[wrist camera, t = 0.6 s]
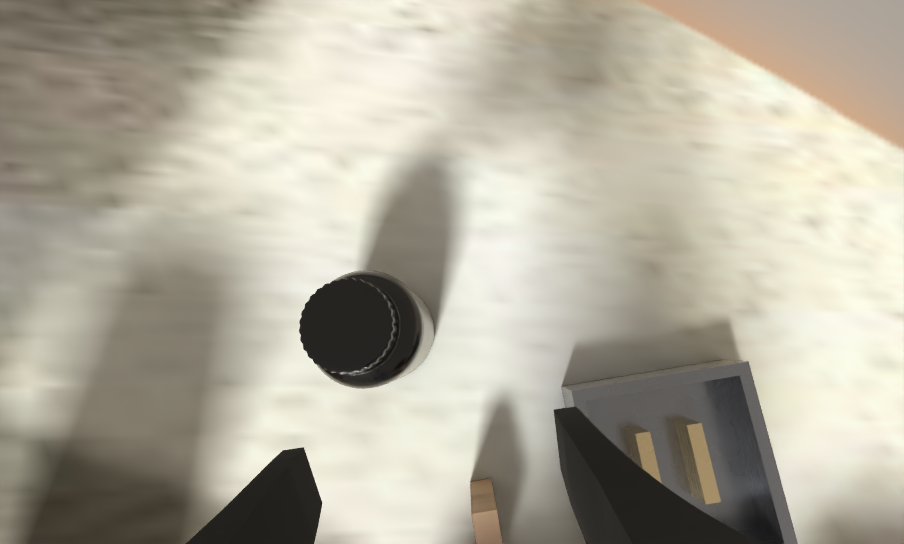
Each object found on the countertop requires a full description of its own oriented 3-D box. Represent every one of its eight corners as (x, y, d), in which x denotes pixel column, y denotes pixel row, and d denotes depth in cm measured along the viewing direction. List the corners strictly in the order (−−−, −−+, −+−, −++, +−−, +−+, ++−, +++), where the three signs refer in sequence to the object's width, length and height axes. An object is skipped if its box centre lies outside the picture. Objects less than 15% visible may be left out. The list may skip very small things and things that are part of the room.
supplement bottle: (422, 277, 34) (399, 242, 22) (444, 364, 33) (433, 376, 21) (336, 300, 34) (266, 277, 22) (356, 388, 33) (294, 414, 21)
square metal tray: (767, 534, 30) (800, 555, 27) (596, 562, 30) (610, 586, 27) (722, 359, 32) (748, 361, 29) (561, 386, 32) (571, 390, 29)
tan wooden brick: (503, 553, 30) (512, 603, 25) (482, 556, 30) (486, 608, 25) (490, 478, 31) (496, 509, 25) (470, 481, 31) (471, 513, 25)
